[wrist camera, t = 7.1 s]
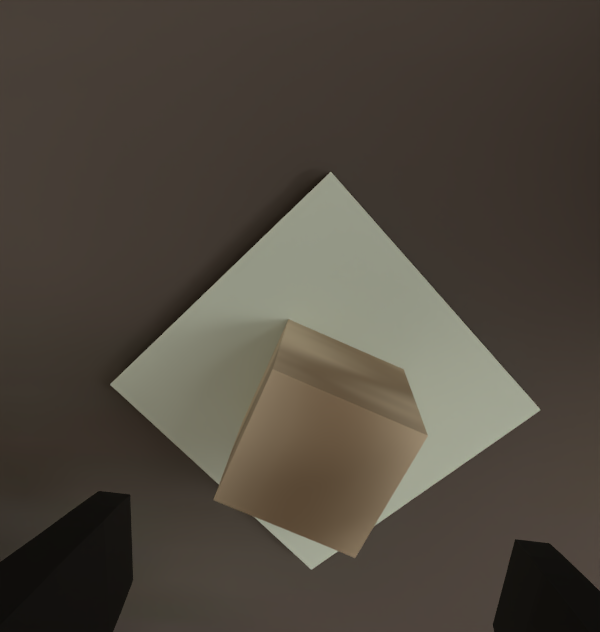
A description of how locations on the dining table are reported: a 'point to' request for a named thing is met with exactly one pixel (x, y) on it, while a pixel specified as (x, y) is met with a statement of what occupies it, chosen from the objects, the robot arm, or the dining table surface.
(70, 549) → the robot arm
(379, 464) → the maple block
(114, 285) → the dining table surface
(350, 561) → the dining table surface
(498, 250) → the dining table surface
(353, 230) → the coaster
